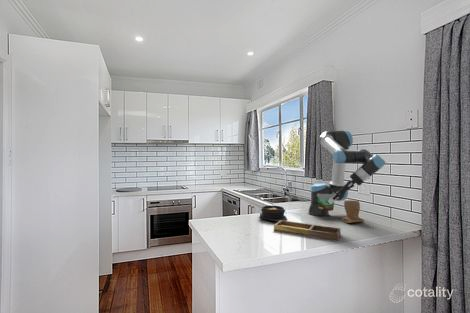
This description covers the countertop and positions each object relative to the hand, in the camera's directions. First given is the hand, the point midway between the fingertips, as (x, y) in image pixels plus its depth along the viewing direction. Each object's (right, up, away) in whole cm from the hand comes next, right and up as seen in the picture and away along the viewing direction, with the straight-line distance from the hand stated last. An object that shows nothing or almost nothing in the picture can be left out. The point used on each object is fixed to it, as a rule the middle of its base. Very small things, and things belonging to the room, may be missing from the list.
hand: (330, 201), depth 154 cm
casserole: (-32, -17, +24) cm, 43 cm away
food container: (-1, -5, -1) cm, 6 cm away
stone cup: (+22, -18, +20) cm, 35 cm away
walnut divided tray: (-16, -17, -7) cm, 25 cm away
